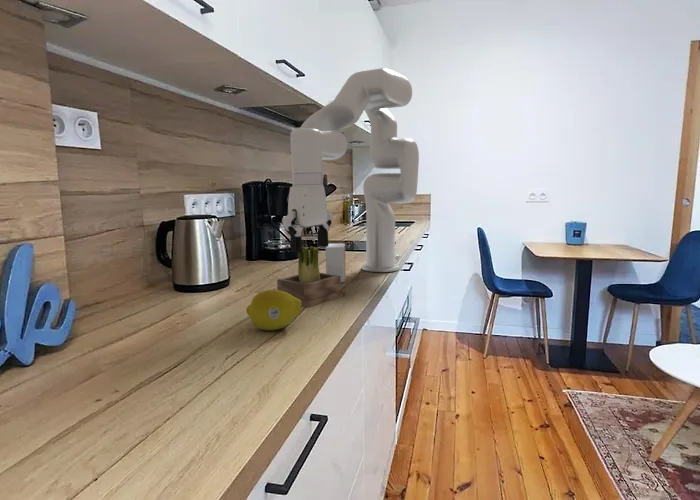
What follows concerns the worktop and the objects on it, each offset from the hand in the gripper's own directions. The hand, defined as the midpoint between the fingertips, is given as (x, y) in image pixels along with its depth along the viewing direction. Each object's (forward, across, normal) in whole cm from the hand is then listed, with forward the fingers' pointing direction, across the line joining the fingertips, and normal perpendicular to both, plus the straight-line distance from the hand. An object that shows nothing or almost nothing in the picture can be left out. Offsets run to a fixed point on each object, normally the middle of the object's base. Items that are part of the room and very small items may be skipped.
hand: (310, 249), depth 108 cm
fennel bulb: (+12, +1, 0) cm, 12 cm away
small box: (+13, -18, -7) cm, 23 cm away
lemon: (+12, +23, +11) cm, 28 cm away
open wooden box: (+12, +1, 0) cm, 12 cm away
